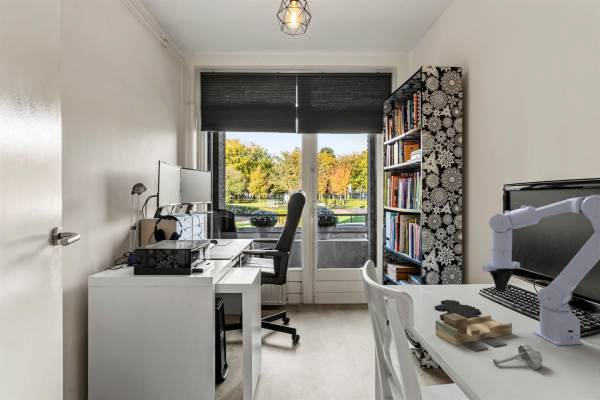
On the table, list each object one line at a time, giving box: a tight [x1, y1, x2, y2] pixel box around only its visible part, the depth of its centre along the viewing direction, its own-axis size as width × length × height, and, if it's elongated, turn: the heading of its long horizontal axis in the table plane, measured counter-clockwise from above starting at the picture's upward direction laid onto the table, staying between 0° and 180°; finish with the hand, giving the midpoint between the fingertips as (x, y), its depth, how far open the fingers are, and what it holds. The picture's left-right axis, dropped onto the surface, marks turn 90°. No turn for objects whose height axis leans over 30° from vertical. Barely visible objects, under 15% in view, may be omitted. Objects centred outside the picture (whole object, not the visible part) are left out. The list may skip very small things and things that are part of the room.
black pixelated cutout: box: [434, 299, 482, 321], centre depth 122 cm, size 16×1×30 cm
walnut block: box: [443, 313, 467, 334], centre depth 104 cm, size 4×4×4 cm
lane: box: [435, 314, 513, 353], centre depth 104 cm, size 22×13×4 cm, turn 110°
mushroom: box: [492, 343, 544, 370], centre depth 88 cm, size 7×5×12 cm
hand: (500, 291), depth 115 cm, fingers closed
